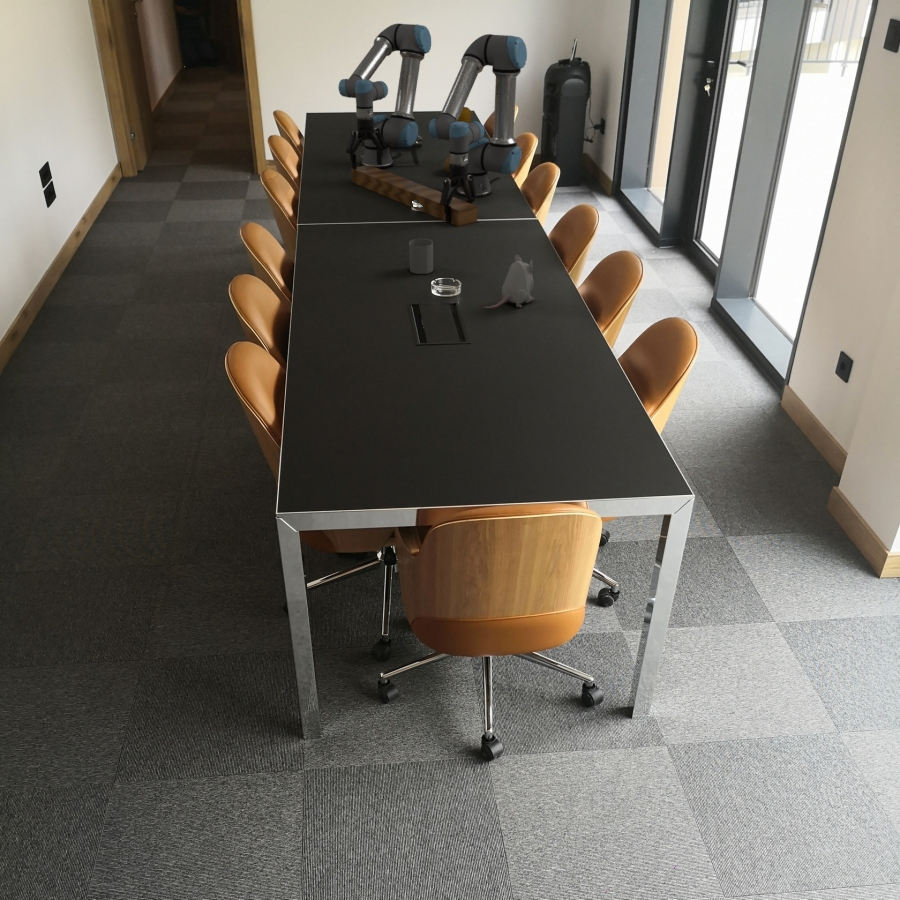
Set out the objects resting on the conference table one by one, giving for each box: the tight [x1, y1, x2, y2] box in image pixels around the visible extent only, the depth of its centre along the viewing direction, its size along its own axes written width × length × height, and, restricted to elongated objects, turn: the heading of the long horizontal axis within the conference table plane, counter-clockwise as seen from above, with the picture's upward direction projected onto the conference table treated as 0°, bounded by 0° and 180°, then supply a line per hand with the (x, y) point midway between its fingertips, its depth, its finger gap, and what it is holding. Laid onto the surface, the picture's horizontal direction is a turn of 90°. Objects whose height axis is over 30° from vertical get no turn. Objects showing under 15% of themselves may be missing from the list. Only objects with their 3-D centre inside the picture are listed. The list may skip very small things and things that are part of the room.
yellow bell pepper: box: [458, 106, 472, 123], centre depth 487 cm, size 11×11×13 cm
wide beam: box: [350, 165, 478, 227], centre depth 376 cm, size 80×10×6 cm, turn 38°
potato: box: [443, 156, 451, 174], centre depth 412 cm, size 10×14×8 cm
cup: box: [408, 237, 434, 275], centre depth 305 cm, size 8×8×10 cm
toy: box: [483, 253, 535, 309], centre depth 276 cm, size 9×24×15 cm, turn 137°
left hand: (366, 166), depth 396 cm, fingers open, 13 cm apart
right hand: (458, 219), depth 355 cm, fingers closed on wide beam, 10 cm apart
